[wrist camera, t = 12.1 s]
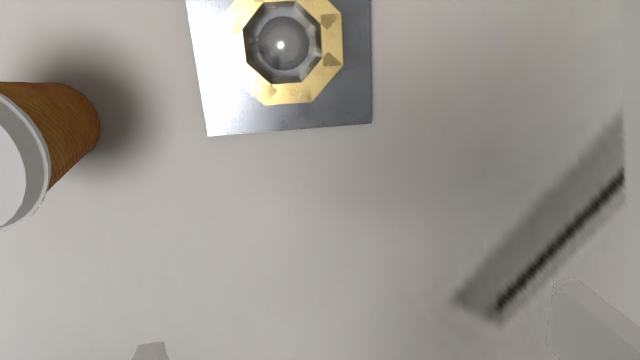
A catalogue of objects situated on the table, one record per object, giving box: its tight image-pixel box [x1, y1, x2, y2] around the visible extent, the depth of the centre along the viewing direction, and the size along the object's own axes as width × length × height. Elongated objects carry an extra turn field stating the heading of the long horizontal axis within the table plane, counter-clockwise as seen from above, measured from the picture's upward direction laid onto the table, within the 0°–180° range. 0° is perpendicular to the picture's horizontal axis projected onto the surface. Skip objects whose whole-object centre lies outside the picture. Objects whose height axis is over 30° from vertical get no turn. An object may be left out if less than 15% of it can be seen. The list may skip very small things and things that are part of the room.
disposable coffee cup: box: [0, 82, 100, 232], centre depth 26 cm, size 10×10×12 cm
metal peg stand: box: [186, 0, 371, 136], centre depth 27 cm, size 14×14×9 cm
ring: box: [219, 0, 343, 105], centre depth 28 cm, size 8×8×5 cm
